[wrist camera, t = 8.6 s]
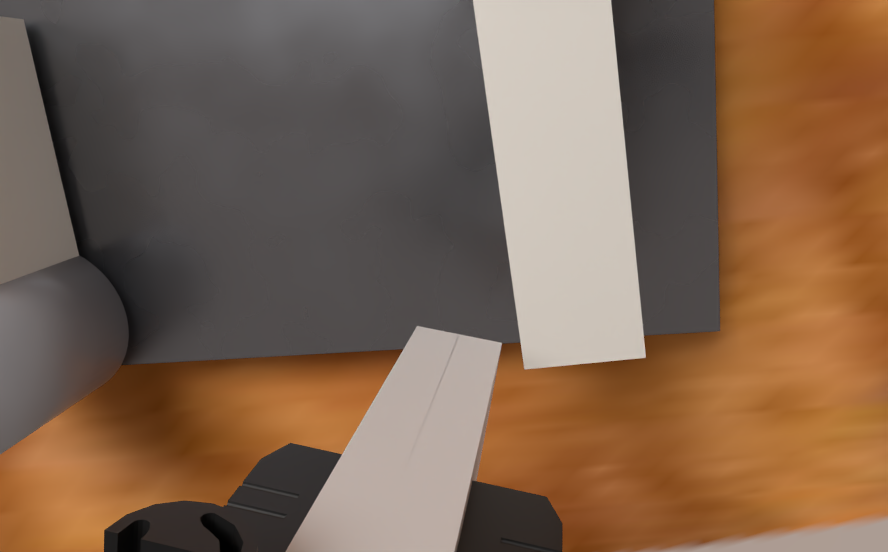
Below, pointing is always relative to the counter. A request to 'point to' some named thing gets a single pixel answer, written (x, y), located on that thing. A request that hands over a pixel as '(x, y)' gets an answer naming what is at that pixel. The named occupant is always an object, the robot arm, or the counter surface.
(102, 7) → the level base
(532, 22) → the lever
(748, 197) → the counter surface
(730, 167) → the counter surface
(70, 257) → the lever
